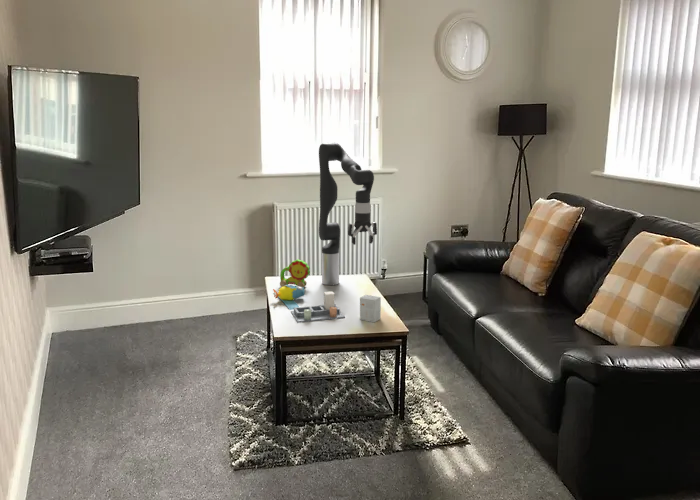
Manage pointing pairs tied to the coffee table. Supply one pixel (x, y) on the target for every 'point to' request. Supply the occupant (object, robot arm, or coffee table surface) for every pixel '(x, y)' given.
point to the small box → (370, 308)
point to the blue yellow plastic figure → (290, 295)
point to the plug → (328, 300)
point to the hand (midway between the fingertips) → (362, 243)
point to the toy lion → (295, 273)
